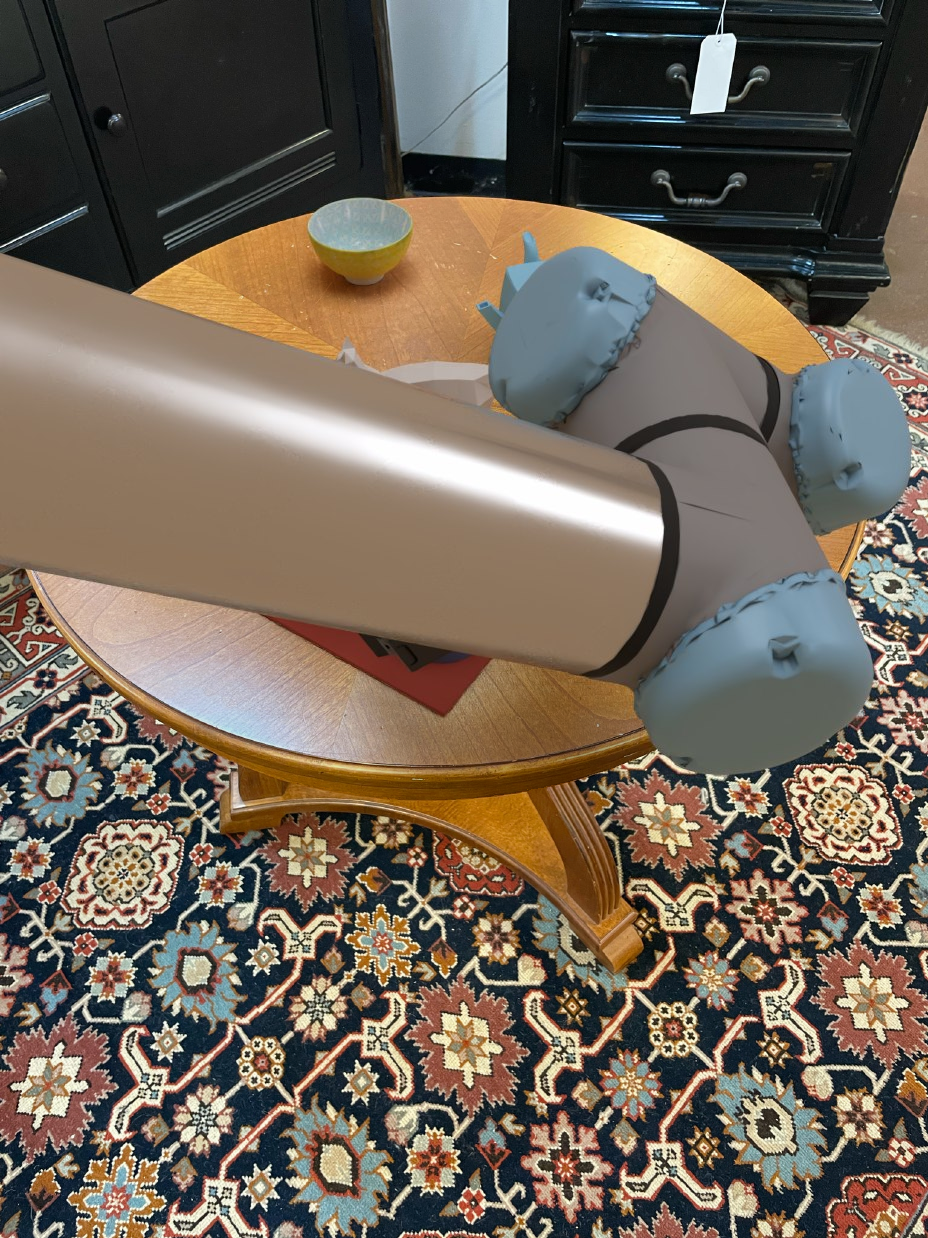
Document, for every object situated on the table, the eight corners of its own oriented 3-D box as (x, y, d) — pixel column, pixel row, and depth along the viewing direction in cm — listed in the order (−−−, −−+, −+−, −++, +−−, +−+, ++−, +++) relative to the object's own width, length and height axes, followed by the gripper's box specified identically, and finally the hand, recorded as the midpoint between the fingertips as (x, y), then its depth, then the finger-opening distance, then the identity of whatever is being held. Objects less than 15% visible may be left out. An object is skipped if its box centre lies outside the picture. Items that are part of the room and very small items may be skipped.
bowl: (432, 285, 107) (431, 233, 102) (338, 313, 103) (332, 260, 98) (389, 239, 113) (385, 188, 108) (298, 264, 110) (291, 211, 105)
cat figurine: (340, 437, 90) (323, 303, 79) (552, 434, 90) (565, 301, 79) (337, 469, 87) (319, 335, 76) (556, 466, 87) (569, 332, 76)
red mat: (258, 612, 76) (257, 609, 76) (358, 517, 83) (357, 514, 83) (444, 717, 70) (444, 714, 69) (536, 604, 77) (536, 601, 76)
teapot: (638, 401, 93) (654, 310, 86) (501, 426, 91) (505, 334, 83) (575, 303, 104) (584, 214, 97) (451, 323, 102) (450, 233, 94)
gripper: (556, 711, 49) (352, 734, 66) (749, 447, 62) (538, 522, 79) (470, 600, 47) (282, 653, 64) (690, 351, 60) (486, 449, 77)
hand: (424, 581), depth 72 cm, fingers open, 13 cm apart
